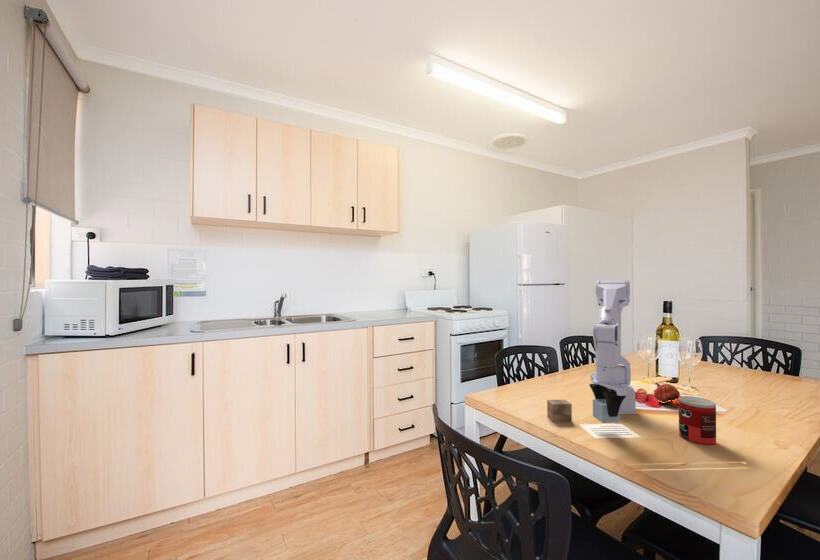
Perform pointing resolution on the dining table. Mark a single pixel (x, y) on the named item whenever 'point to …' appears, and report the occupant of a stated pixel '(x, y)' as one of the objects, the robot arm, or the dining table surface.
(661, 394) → the pomegranate
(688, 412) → the canned food
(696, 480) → the dining table surface
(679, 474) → the dining table surface
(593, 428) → the letter
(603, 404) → the cube
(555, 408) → the walnut block
